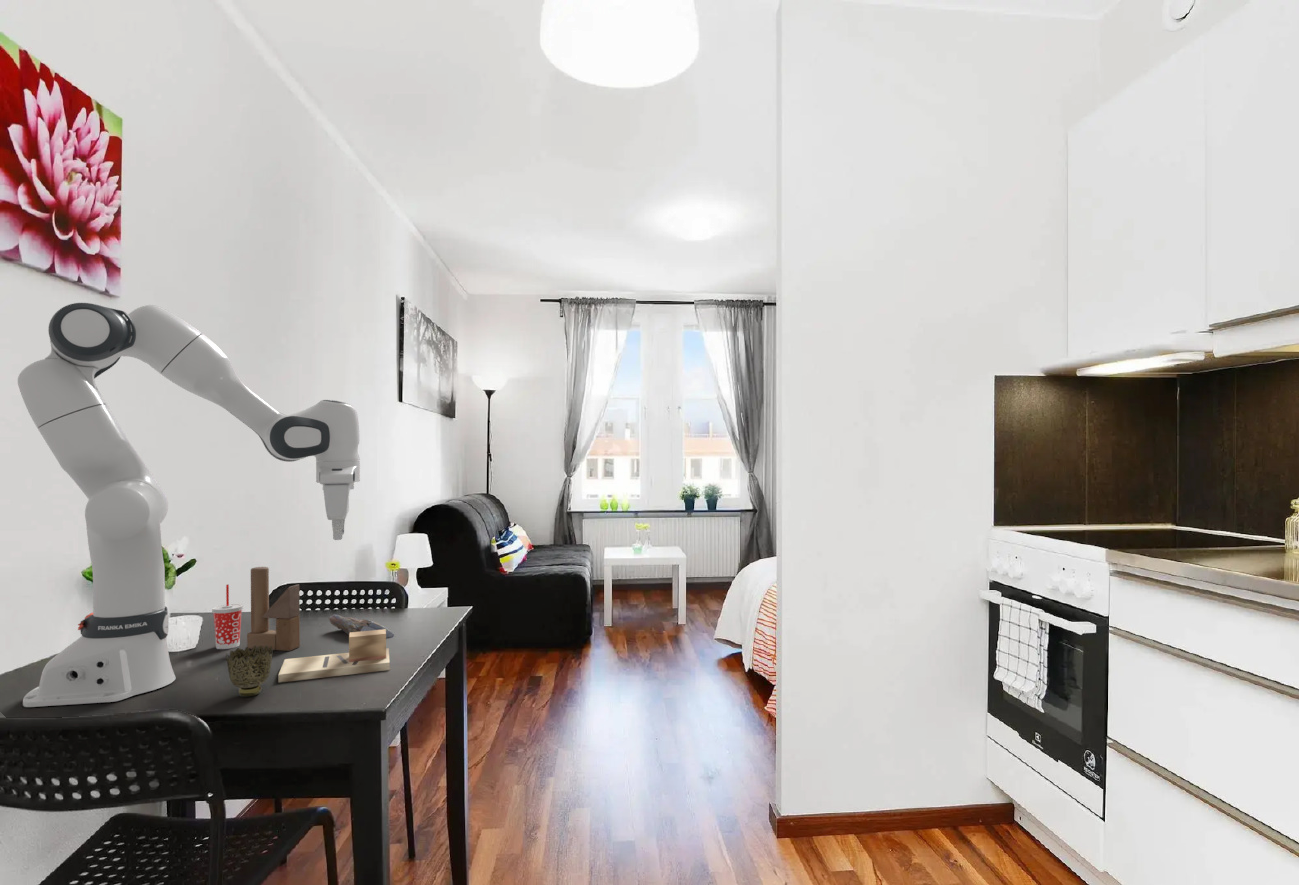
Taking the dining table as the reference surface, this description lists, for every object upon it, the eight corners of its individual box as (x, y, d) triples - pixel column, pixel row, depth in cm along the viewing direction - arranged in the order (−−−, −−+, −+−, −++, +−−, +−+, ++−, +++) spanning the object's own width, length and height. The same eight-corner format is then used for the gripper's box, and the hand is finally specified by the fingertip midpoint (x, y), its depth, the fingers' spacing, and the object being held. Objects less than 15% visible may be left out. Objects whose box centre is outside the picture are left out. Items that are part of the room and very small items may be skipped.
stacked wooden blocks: (289, 651, 160) (289, 569, 160) (246, 649, 162) (245, 568, 162) (300, 646, 163) (299, 567, 163) (258, 645, 165) (257, 566, 165)
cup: (239, 688, 135) (238, 645, 135) (280, 686, 136) (279, 644, 136) (218, 702, 128) (217, 656, 128) (261, 700, 128) (261, 655, 128)
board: (278, 682, 138) (278, 674, 138) (285, 666, 148) (285, 659, 148) (389, 669, 145) (389, 662, 145) (388, 655, 156) (388, 648, 156)
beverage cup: (220, 651, 160) (220, 588, 160) (206, 647, 164) (206, 585, 164) (248, 645, 165) (248, 583, 165) (234, 641, 169) (234, 581, 169)
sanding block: (349, 662, 146) (349, 637, 146) (349, 656, 150) (349, 632, 150) (386, 658, 148) (385, 633, 148) (385, 652, 152) (385, 629, 152)
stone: (401, 626, 173) (363, 620, 166) (395, 647, 172) (357, 641, 165) (365, 615, 184) (329, 609, 177) (360, 634, 183) (322, 629, 176)
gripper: (325, 473, 168) (326, 532, 168) (319, 476, 149) (320, 543, 149) (354, 472, 170) (355, 531, 170) (352, 475, 151) (353, 541, 151)
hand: (338, 537), depth 159 cm, fingers open, 8 cm apart
